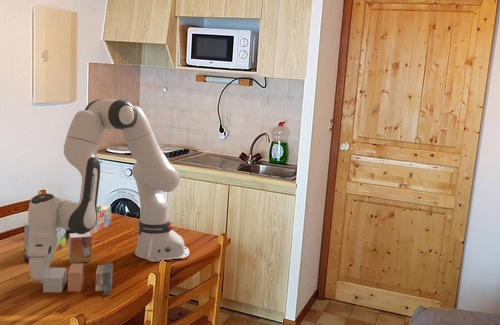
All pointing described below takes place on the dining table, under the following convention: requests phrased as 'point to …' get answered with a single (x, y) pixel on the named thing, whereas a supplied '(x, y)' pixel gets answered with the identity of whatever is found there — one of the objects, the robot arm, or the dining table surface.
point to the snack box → (60, 240)
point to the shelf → (104, 278)
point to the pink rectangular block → (75, 277)
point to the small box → (80, 247)
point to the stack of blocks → (102, 218)
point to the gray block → (54, 280)
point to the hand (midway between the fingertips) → (43, 281)
